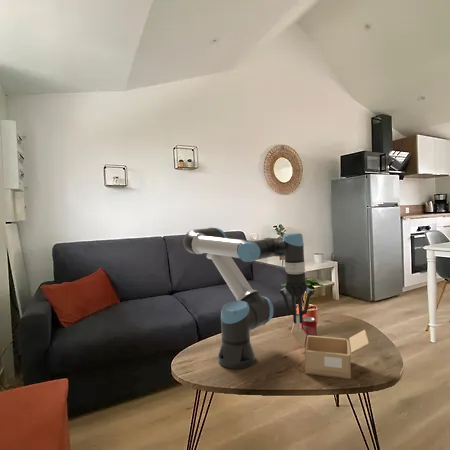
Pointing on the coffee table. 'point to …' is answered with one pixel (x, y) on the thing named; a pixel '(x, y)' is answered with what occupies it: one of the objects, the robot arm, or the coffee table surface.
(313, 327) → the soda can
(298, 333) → the flap
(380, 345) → the coffee table surface
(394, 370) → the coffee table surface
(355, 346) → the flap
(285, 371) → the coffee table surface
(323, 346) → the carton
